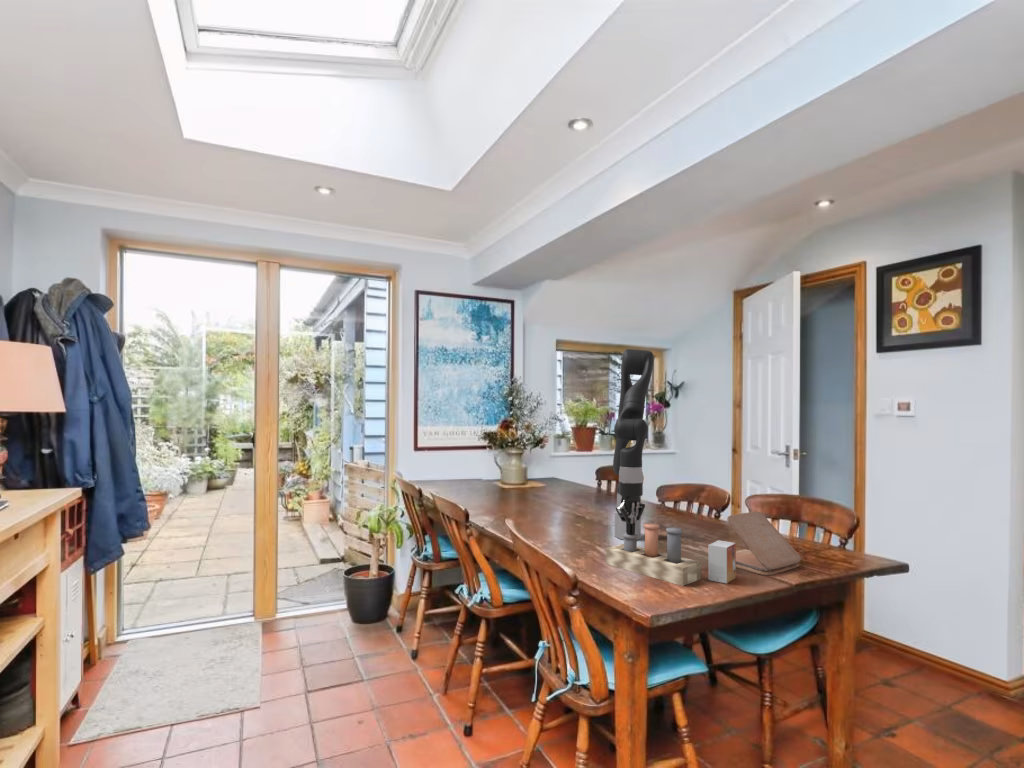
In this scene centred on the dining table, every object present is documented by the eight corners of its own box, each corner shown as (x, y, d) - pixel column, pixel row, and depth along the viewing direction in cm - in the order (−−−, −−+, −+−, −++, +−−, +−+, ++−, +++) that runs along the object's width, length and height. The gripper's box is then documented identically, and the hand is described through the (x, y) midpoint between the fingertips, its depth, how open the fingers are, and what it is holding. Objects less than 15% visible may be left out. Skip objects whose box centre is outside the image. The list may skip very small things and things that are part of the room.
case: (767, 578, 166) (768, 524, 167) (708, 561, 184) (709, 512, 184) (804, 568, 177) (804, 518, 178) (745, 553, 195) (745, 507, 196)
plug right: (663, 561, 165) (663, 529, 166) (671, 559, 168) (671, 526, 169) (676, 565, 162) (676, 531, 162) (685, 562, 165) (685, 529, 165)
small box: (727, 584, 159) (726, 547, 160) (707, 580, 163) (707, 544, 163) (736, 578, 165) (736, 542, 166) (717, 574, 169) (717, 539, 169)
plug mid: (640, 556, 171) (641, 524, 172) (649, 553, 174) (649, 522, 175) (653, 559, 168) (653, 527, 168) (662, 556, 171) (662, 525, 171)
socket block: (605, 563, 178) (605, 548, 178) (624, 558, 185) (624, 543, 185) (682, 586, 157) (682, 568, 157) (701, 579, 164) (701, 562, 164)
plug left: (620, 565, 177) (620, 534, 178) (628, 562, 180) (628, 532, 181) (631, 568, 174) (631, 537, 174) (640, 565, 177) (640, 534, 177)
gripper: (633, 477, 185) (633, 529, 184) (608, 480, 176) (608, 535, 176) (652, 480, 180) (652, 533, 179) (627, 483, 171) (627, 540, 170)
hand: (630, 534), depth 177 cm, fingers closed
